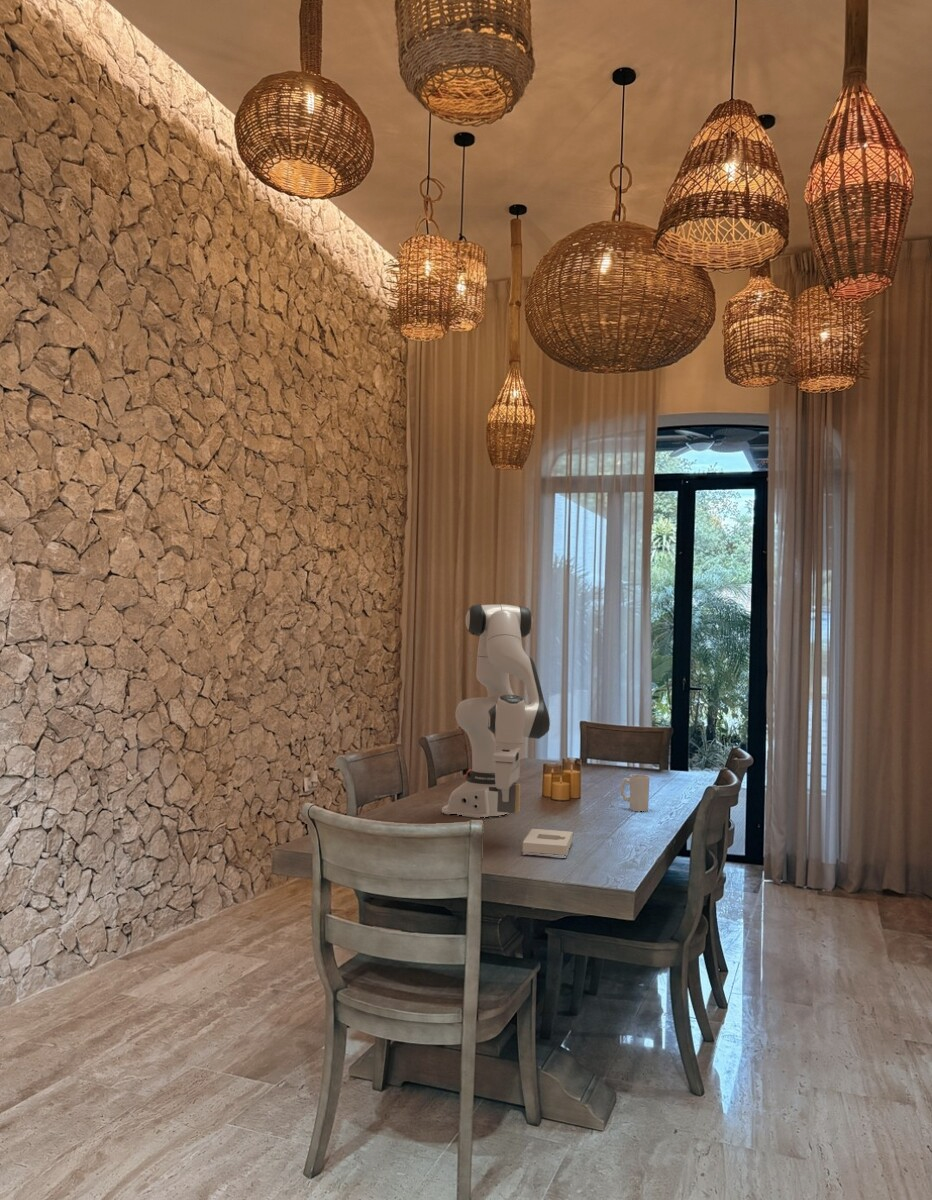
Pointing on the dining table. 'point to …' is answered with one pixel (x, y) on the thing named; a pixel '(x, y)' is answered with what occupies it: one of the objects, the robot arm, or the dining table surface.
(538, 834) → the socket block
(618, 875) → the dining table surface
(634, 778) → the mug
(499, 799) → the plug
